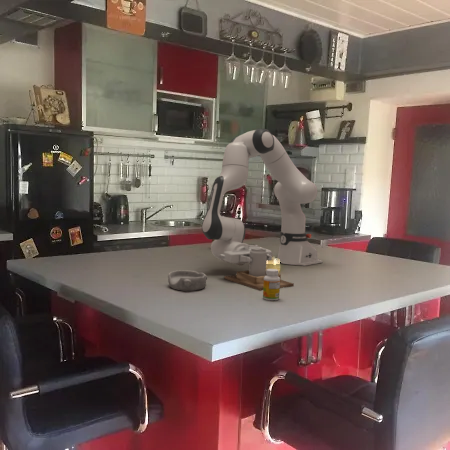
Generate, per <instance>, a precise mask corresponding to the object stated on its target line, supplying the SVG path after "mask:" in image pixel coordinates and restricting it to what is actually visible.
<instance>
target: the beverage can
mask: <svg viewBox="0 0 450 450" xmlns="http://www.w3.org/2000/svg"><path fill="white" fill-rule="evenodd" d="M266 249H267V248H265V247H262V248H251V251H250V257H252V262H248V263H249V264H248V270H249V275H252V276H255V277H260V276H266V270H267V261H268V260H267V252H266Z"/></svg>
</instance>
